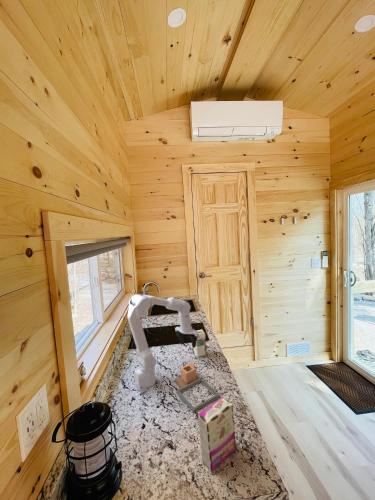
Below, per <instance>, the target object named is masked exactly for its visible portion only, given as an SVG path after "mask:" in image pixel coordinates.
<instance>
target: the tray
mask: <svg viewBox="0 0 375 500" xmlns="http://www.w3.org/2000/svg"><path fill="white" fill-rule="evenodd" d="M197 379H198V380H196V381H194V382H192V383H190V384H188V385H186V386H184V387H182V388H178V389H177V390H176V391H175V393H176V395H177V396H178V397H179V399H181V400H182V401H183V402H184V404H185V405H186V406H187V407H188V409H190V411H191V412H192V413H195V412H198V411H199V410H200V409H203V408H205V407H206V406H207V405H209V404H211V403H214V402H215V401H217V400H219V399H220V398H221V395H220V393H219V392H218V391H216V390H215V389H214V388H213V387H212V386H211V385H210V384H208V382H206V381H205V379H203V378H202V377H201V378H197ZM200 383H201V384H202V385H203V386H204V387H205V388H207V390H209V391H210V392H211V393H212V394H213V396H211V397H210V398H208V399H206V400H204V401H202V402H201V403H199V404H197V405H195V406H193V405H192V404H191V403H190V401H189V400H188V399H187V398H186V397H185V396H184V394H182V392H185V391H186V390H189V389H190V388H192V387H195V386H197V385H198V384H200Z"/></svg>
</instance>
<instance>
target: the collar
mask: <svg viewBox="0 0 375 500" xmlns="http://www.w3.org/2000/svg"><path fill="white" fill-rule="evenodd" d="M189 368H191V370H190V371H185V370H186V369H189ZM179 371H180V377H181V378H182V379H183V380H184V381H185V382H186V383H189V382H191V381H193V380H195V379H198V378H197V366H196V364H191V363H188V364H186V365H184V366H182V367H180V370H179Z"/></svg>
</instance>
